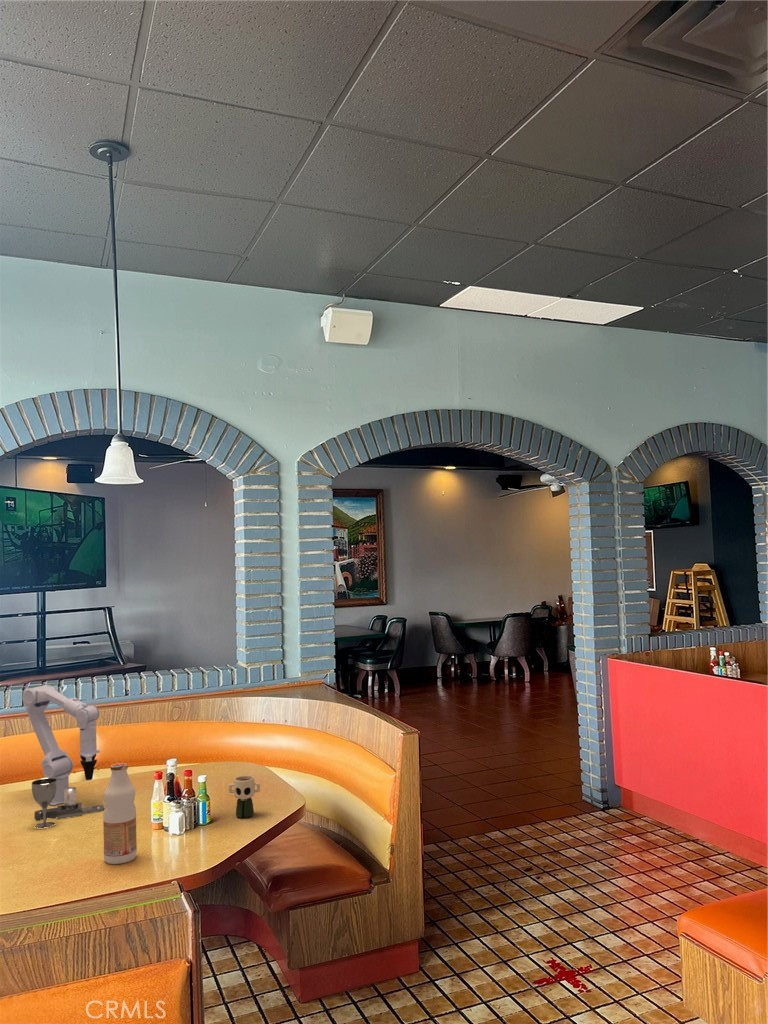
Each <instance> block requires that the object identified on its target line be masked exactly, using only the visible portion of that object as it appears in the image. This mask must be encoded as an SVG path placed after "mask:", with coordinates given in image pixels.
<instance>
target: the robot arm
mask: <svg viewBox="0 0 768 1024" xmlns="http://www.w3.org/2000/svg"><path fill="white" fill-rule="evenodd" d="M22 702H23V704H24V706H25V710H26V712H27V716H28V719H29V721H30V725H31V726H32V728H33V731H34V733H35V735H36V738H37V740H38V743H39V745H40V747H41V749H42V750H41V751H42V752H43V755H44V757H43V759H42V760H41V762H40V764H41V767H42V773H43V776H44V778H56V779H57V789H56V794H55V797H54V798H53V800H52V801H51V802H50V803H49V805H50V806H53V807H54V806H58V805H62V804H64V789H65V788H68V787H70V786H69V780H70V779H69V776H70V775H71V772H72V771H73V769H74V762H73V760H72V758H71V757H70V756H69V755H68V752H66V751H65V750H63V749H60V747H59V744H58V742H57V740H56V738H55V735H54V733H53V730H52V728H51V725H50V723H49V721H48V718H47V717H46V714H45V711H46V709H47V708H48V707H49V704H50V703H53V704H54V705H57V706H60V707H61V708H63V711H64V713H66V714H68V715H69V716H72V717H74V718H75V720H76V722H77V725H78V728H79V756H80V759H81V760H80V764H81V766H82V769H83V772H84V777H85V780H86V781H90V780H92V779H93V777H94V771H95V767H96V763H97V762H98V759H97V758H96V756H97V754H98V753H99V754H100V753H101V749H97V747H98V746H97V745H98V744H97V720H98V719H99V718H100V709H99V708H98V706H96V705H95V704H91V705H89V704H87V703H86V702H82V701H81V700H79V698H77V697H71V698H68V697H66V696H65V695H64V694H62V693H61V692H59V691H57V690H56V689H55V687H54V686H52V685H50V684H44V685H41V686H36V687H32V688H26V689H25V690H24V693H23V695H22Z"/></svg>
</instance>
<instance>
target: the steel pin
mask: <svg viewBox="0 0 768 1024" xmlns="http://www.w3.org/2000/svg"><path fill="white" fill-rule="evenodd" d="M77 803H78V802H77V787H76V786H69V787H68V788H65V789H64V803H63V805H64V810H71V809H77Z"/></svg>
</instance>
